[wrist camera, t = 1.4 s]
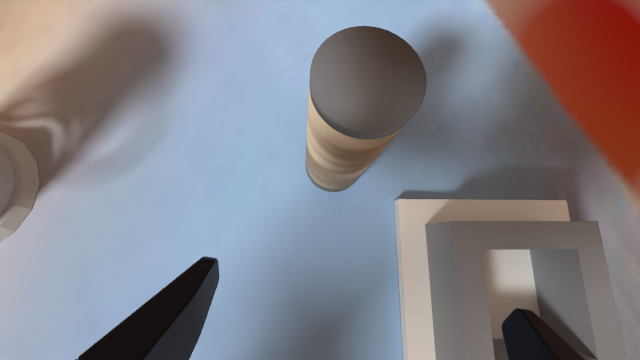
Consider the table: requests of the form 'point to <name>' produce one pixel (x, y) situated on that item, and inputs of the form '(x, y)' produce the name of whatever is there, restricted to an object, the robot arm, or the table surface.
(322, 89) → the rail post
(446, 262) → the post socket
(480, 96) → the table surface
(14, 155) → the french press
